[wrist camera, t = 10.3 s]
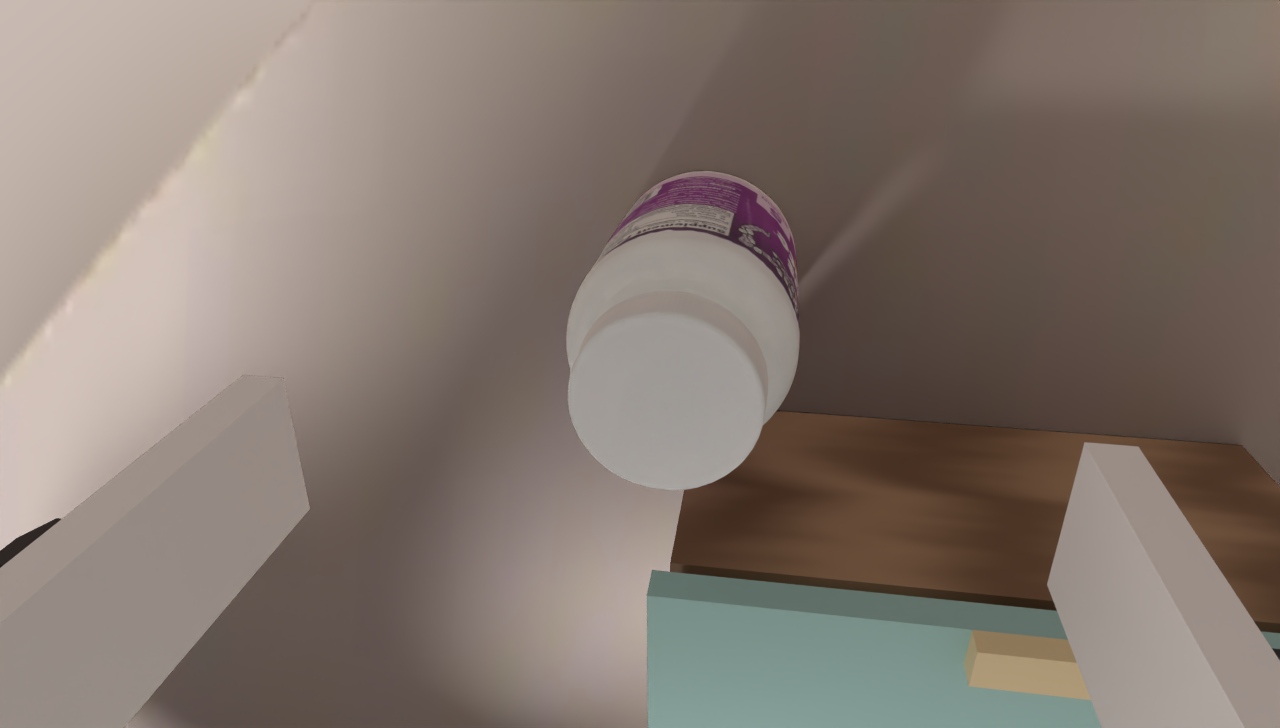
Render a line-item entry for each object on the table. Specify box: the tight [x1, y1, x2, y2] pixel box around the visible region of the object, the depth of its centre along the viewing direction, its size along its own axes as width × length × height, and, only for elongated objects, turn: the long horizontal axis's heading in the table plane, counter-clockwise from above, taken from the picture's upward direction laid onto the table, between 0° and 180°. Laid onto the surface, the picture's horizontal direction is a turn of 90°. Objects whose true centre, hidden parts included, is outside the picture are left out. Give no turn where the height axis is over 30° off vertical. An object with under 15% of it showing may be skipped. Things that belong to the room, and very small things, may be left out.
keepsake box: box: [670, 411, 1280, 633], centre depth 26 cm, size 16×12×8 cm
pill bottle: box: [566, 171, 800, 490], centre depth 21 cm, size 5×5×10 cm
